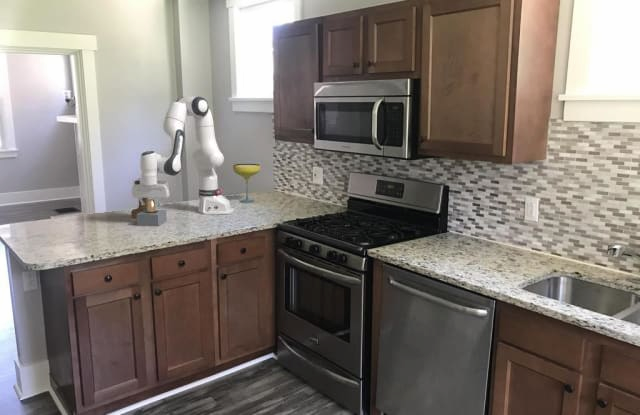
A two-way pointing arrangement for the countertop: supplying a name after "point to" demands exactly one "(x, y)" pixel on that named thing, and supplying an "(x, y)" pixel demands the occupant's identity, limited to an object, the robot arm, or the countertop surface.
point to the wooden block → (139, 208)
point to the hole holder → (151, 218)
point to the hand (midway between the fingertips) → (151, 205)
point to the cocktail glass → (246, 175)
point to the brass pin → (151, 205)
